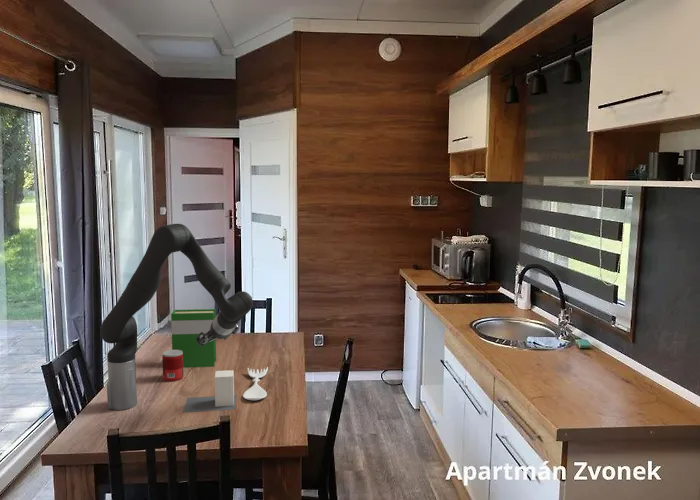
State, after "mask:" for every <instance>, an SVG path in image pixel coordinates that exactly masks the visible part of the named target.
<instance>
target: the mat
mask: <svg viewBox="0 0 700 500" xmlns="http://www.w3.org/2000/svg"><path fill="white" fill-rule="evenodd" d="M184 404H185V405H184V406H183V407H184V408H183V412H182V413H184V414H185V413H199V412H213V411H214V412H215V411H218V412H219V411H232V410H236V409H237V408H236V407H237V394H234V406H219V407H215V395H214V396H211V395H210V396H198V397H197V396H195V397H187V398H186V402H185V403H184Z"/></svg>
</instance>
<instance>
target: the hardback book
mask: <svg viewBox="0 0 700 500" xmlns="http://www.w3.org/2000/svg"><path fill="white" fill-rule="evenodd" d="M215 317H216V308H202V309H201V308H200V309H198V308H194V309H174V310H172V312H171V314H170V319H171V320H170V323H171V326H170V327H171V350H181V351H183V369H186V368H215V366H216V365H215V363H216V362H217V339H214V340H213V341H211V342H207V343H206V344H205V345H204V346H202V345H198V342H197V340H196V338H197V336H198V335H199V334H200V333H201V332H203V333H204V334H205V333H206V332H208V331H209V330H210V326H211V324H212V322H213V320H214V319H215ZM205 339H206V338H205ZM210 339H212V338H210ZM206 340H207V339H206Z"/></svg>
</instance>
